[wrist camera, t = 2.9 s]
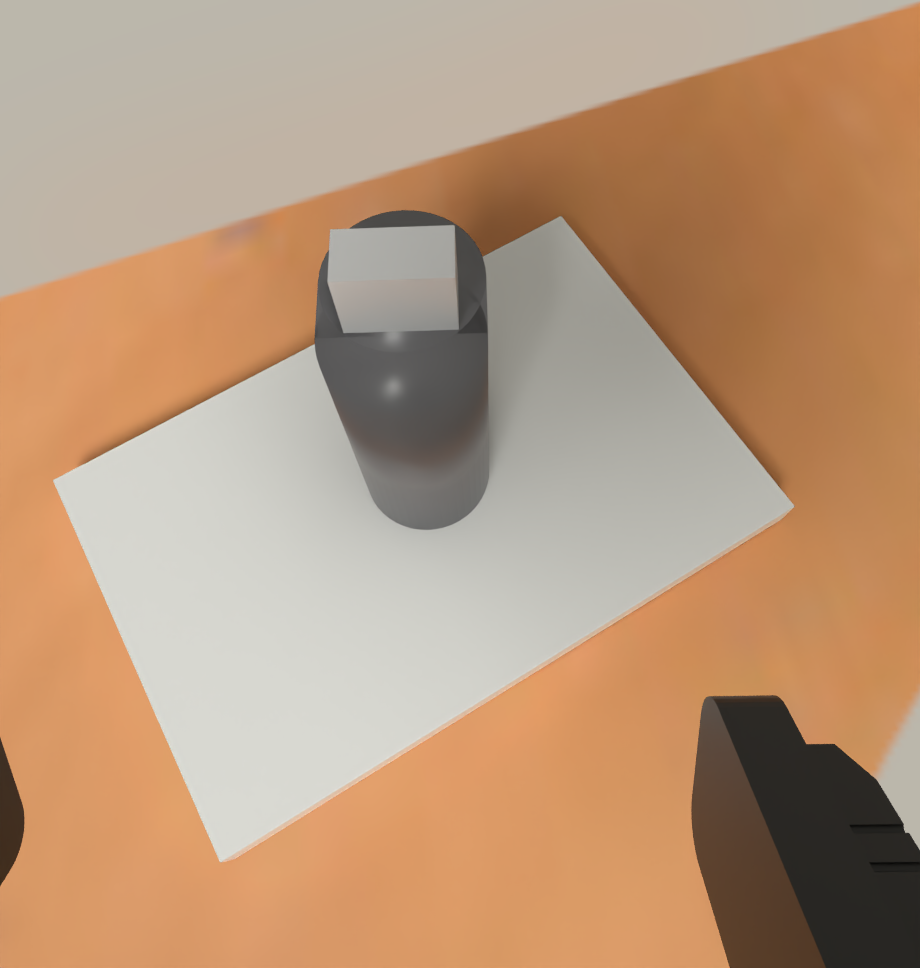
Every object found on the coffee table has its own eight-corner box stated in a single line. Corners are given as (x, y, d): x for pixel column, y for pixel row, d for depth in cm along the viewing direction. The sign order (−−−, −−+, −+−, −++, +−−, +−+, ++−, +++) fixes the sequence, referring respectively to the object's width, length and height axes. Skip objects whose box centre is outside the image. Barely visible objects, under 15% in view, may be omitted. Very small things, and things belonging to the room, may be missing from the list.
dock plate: (234, 859, 21) (220, 862, 20) (72, 494, 25) (52, 480, 24) (780, 519, 24) (794, 506, 23) (558, 238, 28) (560, 215, 27)
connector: (490, 528, 23) (490, 366, 14) (364, 531, 23) (289, 372, 15) (486, 373, 25) (483, 146, 16) (369, 376, 25) (304, 153, 16)
